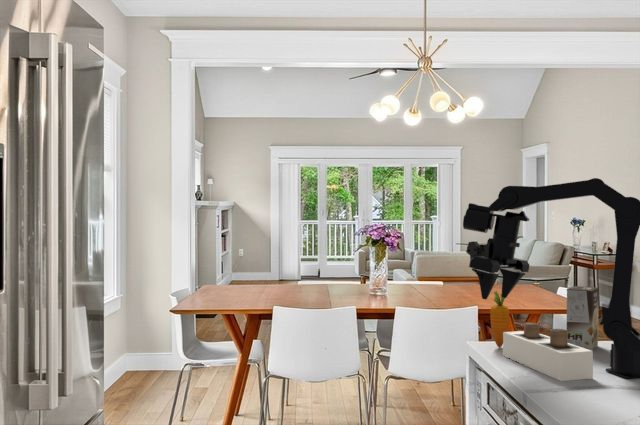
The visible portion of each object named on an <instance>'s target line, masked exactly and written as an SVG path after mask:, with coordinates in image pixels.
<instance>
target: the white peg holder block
mask: <svg viewBox="0 0 640 425" xmlns="http://www.w3.org/2000/svg"><path fill="white" fill-rule="evenodd" d="M502 349H503V350H502V356H503V357H505V358H507V359H509V358H510V360H512V361H514V362H516V361H517V363H518V362H519V364H521V365H523V364H524V365H523V366H525V367H528V368H531V369H533V370H534V371H537V372H539V373H542V374H543V375H546V376H549V377H550V378H552V379H555V380H558V381H560V382H568V381H569V382H570V381H577V380H578V381H579V380H581V381H582V380H592V379H594V350H593V351H591V350H588V349H585V348H582V347H579V346H576V345H573V344H570V343H568V348H558V349H557V348H554V347H551V346H550V335H549V336H548V335H545V334H542V333H540V338H534V339H528V338H526V337H524V330H518V331H517V330H516V331H507V332H503V345H502Z"/></svg>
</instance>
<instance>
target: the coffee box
mask: <svg viewBox="0 0 640 425" xmlns="http://www.w3.org/2000/svg"><path fill="white" fill-rule="evenodd" d="M566 330H567V331H568V343H570V344H573V345H576V346H579V347H582V348H585V349H588V350H591V351H593V352H594V350H595V349H596V348H598V346H599V287H595V286H594V287H593V286H577V285H574V286H571V287H568V288H566Z"/></svg>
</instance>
